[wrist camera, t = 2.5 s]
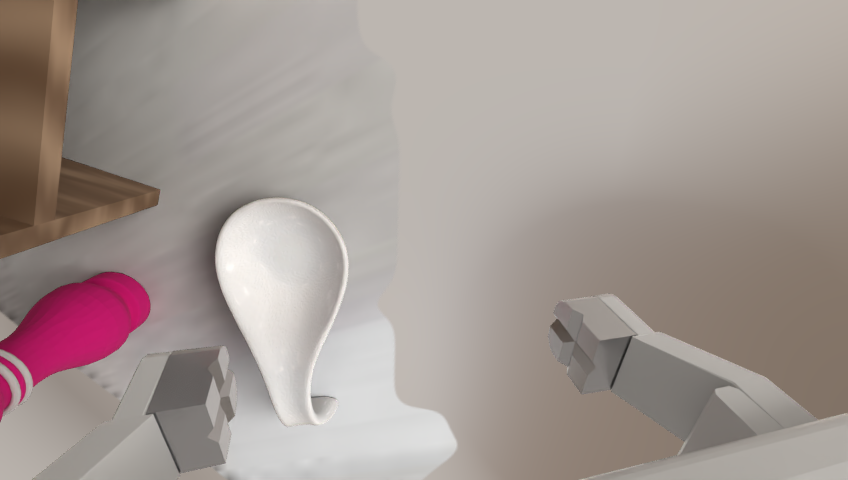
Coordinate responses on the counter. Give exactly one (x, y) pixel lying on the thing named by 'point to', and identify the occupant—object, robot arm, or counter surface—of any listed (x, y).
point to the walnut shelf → (47, 135)
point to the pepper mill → (69, 332)
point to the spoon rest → (284, 296)
